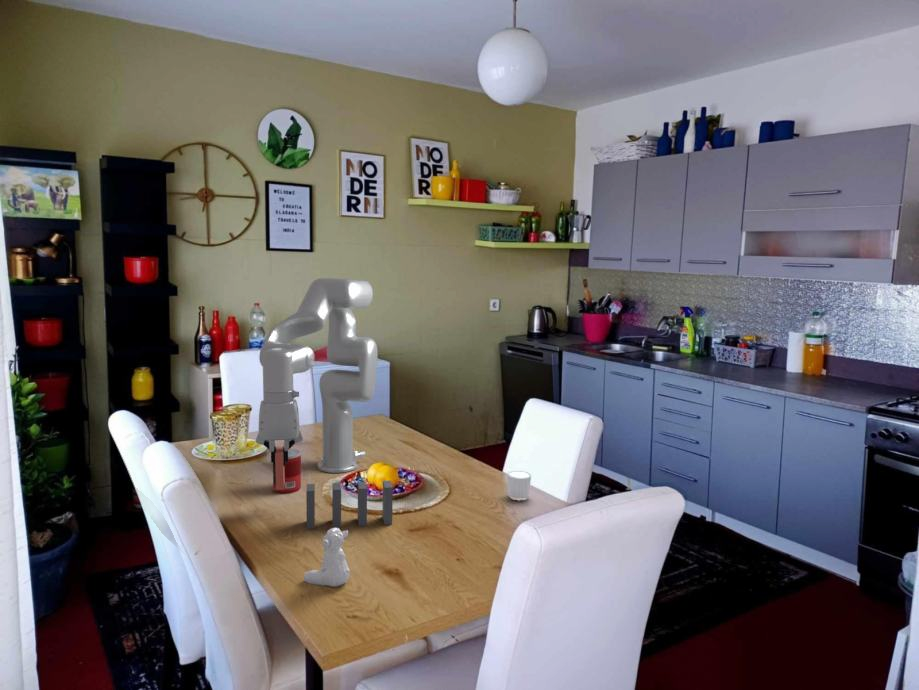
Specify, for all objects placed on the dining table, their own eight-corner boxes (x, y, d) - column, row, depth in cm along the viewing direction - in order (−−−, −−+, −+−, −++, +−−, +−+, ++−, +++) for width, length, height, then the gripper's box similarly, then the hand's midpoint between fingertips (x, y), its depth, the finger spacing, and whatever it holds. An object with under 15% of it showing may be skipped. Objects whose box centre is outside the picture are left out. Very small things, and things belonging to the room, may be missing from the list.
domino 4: (389, 516, 177) (390, 480, 176) (392, 524, 172) (392, 487, 171) (382, 517, 177) (382, 480, 175) (384, 524, 172) (384, 487, 171)
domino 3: (365, 518, 176) (365, 481, 174) (366, 525, 171) (367, 488, 170) (357, 518, 175) (357, 481, 174) (358, 526, 171) (359, 488, 169)
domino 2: (340, 519, 175) (340, 482, 173) (340, 527, 170) (341, 489, 168) (332, 519, 174) (332, 483, 173) (332, 527, 169) (333, 489, 168)
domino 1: (314, 520, 173) (314, 483, 172) (314, 528, 168) (314, 490, 167) (306, 521, 173) (306, 484, 171) (306, 529, 168) (306, 491, 166)
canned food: (306, 486, 197) (306, 450, 195) (290, 495, 190) (290, 458, 188) (283, 482, 200) (283, 447, 198) (267, 491, 192) (267, 454, 190)
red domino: (284, 482, 180) (283, 446, 178) (283, 489, 175) (283, 453, 173) (276, 482, 179) (276, 447, 178) (275, 490, 175) (275, 453, 173)
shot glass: (533, 495, 195) (534, 472, 194) (525, 503, 189) (526, 480, 188) (511, 491, 198) (512, 468, 197) (503, 499, 192) (504, 475, 191)
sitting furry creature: (336, 565, 150) (336, 514, 148) (363, 578, 144) (363, 526, 142) (302, 581, 142) (301, 527, 140) (328, 595, 137) (328, 540, 135)
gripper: (309, 392, 178) (310, 458, 181) (248, 393, 175) (249, 461, 178) (309, 399, 171) (310, 468, 174) (245, 401, 168) (247, 471, 171)
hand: (279, 464), depth 176 cm, fingers closed on red domino, 1 cm apart
